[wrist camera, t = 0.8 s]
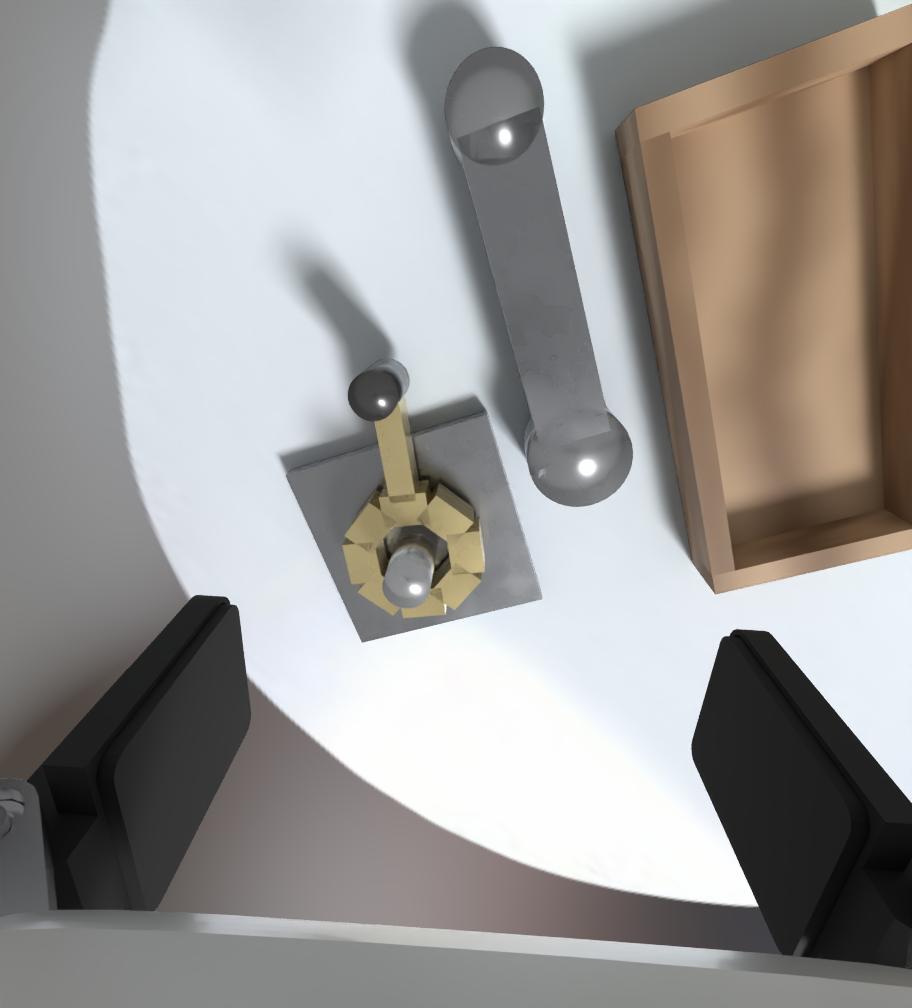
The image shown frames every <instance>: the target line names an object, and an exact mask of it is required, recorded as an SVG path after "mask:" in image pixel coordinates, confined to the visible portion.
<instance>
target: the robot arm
mask: <svg viewBox="0 0 912 1008" xmlns="http://www.w3.org/2000/svg"><path fill="white" fill-rule="evenodd" d="M250 719H251V709H250V701H249V692H248V685H247V676H246V667H245V659H244V651H243V642H242V634H241V626H240V617H239V611H238V608H237V606H236V605H230V601H229V600H228V598H226V597H220V596H204V595H196V596H194V597H192V598H191V599H190V600H189V602H188V603H187V604H186V605H185V606H184V607H183V608H182V610H181V611H180V612H179V613H178V614H177V615H176V616H175V617H174V618H173V620H172V621H171V622H170V623H169V624H168V625H167V626H166V627H165V628H164V630H163V631H162V632H161V633H160V634H159V635H158V636H157V637H156V638H155V640H154V641H153V642H152V643H151V644H150V645H149V646H148V647H147V649H146V650H145V651H144V652H143V653H142V654H141V655H140V656H139V657H138V659H137V660H136V661H135V662H134V663H133V664H132V665H131V666H130V667H129V668H128V669H127V670H126V671H125V672H124V673H123V675H122V676H121V677H120V678H119V679H118V680H117V681H116V682H115V683H114V685H113V686H112V687H111V688H110V689H109V690H108V691H107V692H106V693H105V695H104V696H103V697H102V698H101V699H100V700H99V701H98V702H97V703H96V704H95V706H94V707H93V708H92V709H91V710H90V711H89V712H88V713H87V715H86V716H85V717H84V718H83V719H82V720H81V721H80V722H79V723H78V725H77V726H76V727H75V728H74V729H73V730H72V731H71V732H70V733H69V735H68V736H67V737H66V738H65V739H64V740H63V741H62V742H61V744H60V745H59V746H58V747H57V748H56V749H55V750H54V751H53V752H52V753H51V755H50V756H49V757H48V758H47V759H46V760H45V761H44V762H43V764H42V765H41V766H40V767H39V768H38V769H37V770H36V771H35V772H34V774H33V775H32V776H31V777H30V778H29V779H28V780H27V781H25V780H20V779H13V778H6V779H0V1008H912V803H911V802H910V801H909V799H908V798H907V797H906V796H905V795H904V793H903V792H902V791H901V790H900V789H899V787H898V786H897V785H896V784H895V783H894V781H893V780H892V779H891V778H890V777H889V775H888V774H887V773H886V772H885V771H884V769H883V768H882V767H881V766H880V764H879V763H878V762H877V761H876V760H875V758H874V757H873V756H872V755H871V754H870V752H869V751H868V750H867V749H866V748H865V746H864V745H863V744H862V743H861V742H860V740H859V739H858V738H857V737H856V736H855V734H854V733H853V732H852V731H851V730H850V728H849V727H848V726H847V725H846V724H845V722H844V721H843V720H842V719H841V718H840V716H839V715H838V714H837V713H836V712H835V710H834V709H833V708H832V707H831V705H830V704H829V703H828V702H827V701H826V699H825V698H824V697H823V696H822V695H821V693H820V692H819V691H818V690H817V689H816V687H815V686H814V685H813V684H812V683H811V681H810V680H809V679H808V678H807V677H806V675H805V674H804V673H803V672H802V671H801V669H800V668H799V667H798V666H797V665H796V663H795V662H794V661H793V660H792V659H791V657H790V656H789V655H788V654H787V652H786V651H785V650H784V649H783V648H782V646H781V645H780V644H779V643H778V642H777V640H776V639H775V638H774V637H773V636H772V635H771V634H770V633H769V632H766V631H756V630H740V629H736V630H733V631H732V633H731V634H730V636H725V637H723V638H722V640H721V642H720V645H719V649H718V652H717V656H716V659H715V663H714V666H713V670H712V673H711V677H710V680H709V684H708V687H707V691H706V694H705V698H704V701H703V705H702V708H701V712H700V715H699V719H698V722H697V726H696V729H695V733H694V736H693V740H692V748H691V749H692V757H693V761H694V763H695V766H696V768H697V770H698V772H699V774H700V777H701V779H702V781H703V783H704V786H705V788H706V790H707V792H708V794H709V797H710V799H711V801H712V803H713V806H714V808H715V810H716V812H717V814H718V817H719V819H720V821H721V823H722V826H723V828H724V830H725V832H726V835H727V837H728V839H729V841H730V843H731V846H732V848H733V850H734V852H735V855H736V857H737V859H738V861H739V863H740V866H741V868H742V870H743V872H744V875H745V877H746V879H747V881H748V883H749V886H750V888H751V890H752V892H753V895H754V897H755V899H756V901H757V903H758V906H759V908H760V910H761V912H762V915H763V917H764V919H765V921H766V923H767V926H768V928H769V930H770V932H771V934H772V937H773V939H774V941H775V943H776V945H777V947H778V949H779V951H780V952H781V953H782V955H776V954H765V953H752V952H739V951H727V950H714V949H701V948H689V947H674V946H663V945H650V944H637V943H624V942H611V941H597V940H585V939H571V938H557V937H543V936H529V935H515V934H502V933H488V932H473V931H459V930H445V929H431V928H417V927H402V926H388V925H371V924H356V923H343V922H327V921H312V920H296V919H281V918H265V917H251V916H235V915H219V914H198V913H176V912H154V910H155V909H156V908H157V907H158V905H159V904H160V902H161V900H162V899H163V896H164V894H165V893H166V891H167V888H168V887H169V885H170V883H171V880H172V879H173V877H174V875H175V873H176V871H177V869H178V867H179V865H180V863H181V861H182V859H183V857H184V855H185V853H186V851H187V849H188V847H189V845H190V843H191V841H192V839H193V838H194V836H195V834H196V831H197V830H198V827H199V826H200V824H201V822H202V820H203V818H204V816H205V814H206V812H207V810H208V808H209V806H210V804H211V802H212V800H213V798H214V796H215V794H216V792H217V790H218V788H219V786H220V784H221V782H222V780H223V779H224V777H225V774H226V773H227V771H228V769H229V767H230V765H231V763H232V761H233V759H234V757H235V755H236V753H237V751H238V749H239V747H240V745H241V743H242V741H243V739H244V737H245V735H246V733H247V731H248V728H249V724H250Z"/></svg>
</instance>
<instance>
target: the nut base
mask: <svg viewBox="0 0 912 1008" xmlns="http://www.w3.org/2000/svg"><path fill="white" fill-rule="evenodd" d="M411 436H412V442H413V448H414V454H415V460H416V465H417V471H418V477H419V481H421V480H429V484H430V490H431V492H432V491H433V489H434V488H435V487H436V486H437V484H438V483H441V484H442V485H443V486H445V487H446V488H448V489H449V490H450V491H452V492H453V493H454V494H456V495H457V496H459V497H460V498H461V499H463V500H464V501H465V502H467V503H468V504H470V505H471V506H472V507H474V517H479V516H480V524H481V531H482V539H483V547H484V554H485V572H482V581H481V582H480V583H479V584H478V585H477V587H476V588H475V589H474V590H473V591H472V592H471V593H470V594H469V595H468V596H467V597H466V599H465V600H464V601H463V602H462V603H461V604H460V605H459V606H458V607H457V608H456V609H455V610H453V609H452V608H450V607H449V606H447V607H446V615H436V616H424V617H413V618H403V615H402V610H401V608H415V607H417V606H420V605H421V604H423V603H424V602H425V601H426V599H427V598H428V596H429V593H430V587H431V582H432V576H433V571H437V570H438V569H439V568H440V567H441V565H442V564H443V563H444V562H445V561H446V560H447V558H448V557H449V550H448V543H447V541H445V540H444V539H443V538H441V537H440V536H438V535H437V534H436V533H434V532H433V531H431V530H430V529H428V528H427V527H426V526H424V525H423V524H422V525H412V526H403V527H393V528H392V529H391V530H390V531H389V533H388V534H387V535H386V536H385V538H384V539H383V541H384V546H385V551H386V556H387V559H389V560H390V562H389V565H388V568H387V571H386V574H385V577H384V580H383V583H382V589H383V593H384V595H385V597H386V598H387V600H388V601H389V602H391V603H392V604H393V605H395V606H398V607H400V608H399V610H398V611H397V612H396V613H395V614H394V615H391V614H390V613H388V612H387V611H385V610H384V609H382V608H380V607H379V606H377V605H376V604H374V603H373V602H371V601H370V600H368V599H367V598H365V597H364V596H362V595H361V594H359V593H358V590H359V587H360V585H361V584H351V580H350V576H349V572H348V568H347V563H346V559H345V555H344V551H343V547H342V545H343V543H344V541H345V539H346V537H345V536H344V535H345V533H346V532H347V530H348V528H349V526H350V524H351V522H352V521H353V519H354V518H355V517H356V515H357V514H358V513H359V511H360V510H361V509H362V508H363V506H364V505H365V504H366V502H367V501H368V500H369V498H370V497H371V496H372V494H373V493H374V492H375V490H378V491H379V492H382V490H383V488H384V486H385V484H386V480H385V474H384V469H383V464H382V459H381V454H380V449H379V444H375V445H372V446H369V447H365V448H362V449H359V450H356V451H352V452H349V453H346V454H342V455H339V456H336V457H332V458H329V459H326V460H323V461H319V462H316V463H313V464H309V465H306V466H303V467H299V468H296V469H293V470H291V471H290V472H289V473H288V474H287V475H286V477H287V480H288V482H289V484H290V486H291V488H292V491H293V493H294V495H295V497H296V499H297V501H298V504H299V506H300V508H301V510H302V512H303V515H304V517H305V519H306V521H307V523H308V526H309V528H310V530H311V532H312V534H313V536H314V539H315V541H316V543H317V545H318V547H319V550H320V552H321V554H322V556H323V558H324V561H325V563H326V565H327V567H328V569H329V571H330V574H331V576H332V578H333V580H334V582H335V585H336V587H337V589H338V591H339V593H340V595H341V598H342V600H343V602H344V604H345V606H346V609H347V611H348V613H349V615H350V617H351V620H352V622H353V624H354V626H355V628H356V630H357V633H358V635H359V637H360V639H361V641H362V642H366V641H371V640H375V639H379V638H383V637H387V636H391V635H395V634H400V633H404V632H408V631H412V630H416V629H420V628H425V627H429V626H433V625H437V624H441V623H445V622H449V621H454V620H458V619H462V618H466V617H470V616H474V615H478V614H483V613H487V612H491V611H495V610H499V609H503V608H507V607H512V606H516V605H520V604H524V603H528V602H532V601H536V600H541V599H542V594H541V589H540V586H539V583H538V579H537V576H536V573H535V569H534V566H533V563H532V559H531V556H530V553H529V549H528V546H527V543H526V539H525V536H524V533H523V530H522V526H521V523H520V520H519V516H518V513H517V510H516V506H515V503H514V500H513V496H512V493H511V490H510V486H509V483H508V480H507V476H506V473H505V470H504V466H503V463H502V460H501V456H500V453H499V450H498V446H497V443H496V440H495V436H494V433H493V430H492V426H491V423H490V420H489V417H488V413H487V411H484V412H481V413H478V414H474V415H471V416H468V417H464V418H461V419H458V420H455V421H451V422H448V423H445V424H441V425H438V426H435V427H431V428H428V429H425V430H422V431H418V432H415V433H412V434H411Z"/></svg>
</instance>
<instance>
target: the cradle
mask: <svg viewBox="0 0 912 1008" xmlns="http://www.w3.org/2000/svg"><path fill="white" fill-rule="evenodd" d="M615 133H616V138H617V144H618V150H619V155H620V161H621V166H622V172H623V177H624V183H625V189H626V194H627V200H628V205H629V211H630V216H631V222H632V228H633V233H634V239H635V244H636V250H637V255H638V261H639V267H640V272H641V278H642V283H643V289H644V294H645V300H646V305H647V311H648V317H649V322H650V328H651V333H652V339H653V344H654V350H655V356H656V361H657V367H658V372H659V378H660V383H661V389H662V395H663V400H664V406H665V411H666V417H667V422H668V428H669V434H670V439H671V445H672V450H673V456H674V461H675V467H676V472H677V478H678V484H679V489H680V495H681V500H682V506H683V511H684V517H685V523H686V528H687V534H688V539H689V545H690V550H691V556H692V562H693V565H694V566H695V567H696V569H697V570H698V571H699V573H700V574H701V575H702V577H703V578H704V580H705V581H706V582H707V584H708V585H709V586H710V588H711V589H712V591H713V592H714V593H715V594H719V593H724V592H728V591H732V590H737V589H741V588H745V587H750V586H754V585H758V584H763V583H767V582H771V581H776V580H780V579H784V578H789V577H793V576H797V575H802V574H806V573H810V572H815V571H819V570H823V569H828V568H832V567H836V566H841V565H845V564H849V563H854V562H858V561H862V560H867V559H871V558H875V557H880V556H884V555H888V554H893V553H897V552H901V551H906V550H910V549H912V4H910V5H908V6H905V7H902V8H900V9H897V10H894V11H892V12H889V13H886V14H884V15H881V16H879V17H876V18H873V19H871V20H868V21H865V22H863V23H860V24H857V25H855V26H852V27H849V28H847V29H844V30H842V31H839V32H836V33H834V34H831V35H828V36H826V37H823V38H820V39H818V40H815V41H812V42H810V43H807V44H805V45H802V46H799V47H797V48H794V49H791V50H789V51H786V52H783V53H781V54H778V55H775V56H773V57H770V58H768V59H765V60H762V61H760V62H757V63H754V64H752V65H749V66H746V67H744V68H741V69H738V70H736V71H733V72H731V73H728V74H725V75H723V76H720V77H717V78H715V79H712V80H709V81H707V82H704V83H701V84H699V85H696V86H694V87H691V88H688V89H686V90H683V91H680V92H678V93H675V94H672V95H670V96H667V97H664V98H662V99H659V100H657V101H654V102H651V103H649V104H646V105H643V106H641V107H638V108H635V109H634V110H633V111H632V112H631V113H630V115H629V116H628V117H627V118H626V119H625V120H624V121H623V123H622V124H621V125H620V126H619V127H618V128H617V129H616V131H615Z"/></svg>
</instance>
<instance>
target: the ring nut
mask: <svg viewBox="0 0 912 1008" xmlns="http://www.w3.org/2000/svg"><path fill="white" fill-rule="evenodd" d="M408 387H409V375H408V372H407V370H406V368H405V367H404V366H403V365H402V364H401V363H400V362H398V361H396V360H394V359H381V360H379V361H377V362H375V363H374V364H373V365H371V366H370V367H369V368H368V369H366V370H365V371H364V372H362V373H361V374H360V375H358V376H357V377H356V378H355V379H354V380H353V381H352V382H351V384H350V386H349V390H348V400H349V404H350V406H351V408H352V409H353V411H354V412H355V413H356V414H357V415H358V416H360V417H361V418H363V419H365V420H369V421H374V423H375V428H376V434H377V439H378V444H379V449H380V454H381V459H382V464H383V469H384V474H385V480H386V484H385V486H384V488H383V490H382V492H379V491H378V490H375V492H374V493H373V494H372V496H371V497H370V498H369V500H368V501H367V502H366V504H365V505H364V506H363V508H362V509H361V510H360V511H359V513H358V514H357V515H356V517H355V518H354V519H353V521H352V522H351V524H350V526H349V528H348V530H347V532H346V533H345V535H344V536H345V537H346V539H345V541H344V543H343V545H342V547H343V551H344V555H345V559H346V563H347V568H348V572H349V576H350V580H351V584H361V585H360V587H359V590H358V593H359V594H361V595H362V596H364V597H365V598H367V599H368V600H370V601H371V602H373V603H374V604H376V605H377V606H379V607H380V608H382V609H384V610H385V611H387V612H388V613H390V614H391V615H394V614H395V613H396V612H397V611H398V610H399V608H400V607H398V606H395V605H393V604H392V603H391V602H389V601H388V600H387V598H386V597H385V595H384V593H383V589H382V583H383V580H384V577H385V574H386V571H387V568H388V565H389V562H390V560H389V559H387V556H386V551H385V546H384V541H383V539H384V538H385V536H386V535H387V534H388V533H389V531H390V530H391V529H392V528H393V527H403V526H412V525H422V524H423V525H424V526H426V527H427V528H428V529H430V530H431V531H433V532H434V533H436V534H437V535H438V536H440V537H441V538H443V539H444V540H445V541H447V543H448V550H449V557H448V558H447V560H446V561H445V562H444V563H443V564H442V565H441V567H440V568H439V569H438V570H437V571H433V576H432V582H431V587H430V593H429V596H428V598H427V599H426V601H425V602H424V603H423V604H421V605H420V606H417V607H415V608H401V610H402V615H403V618H413V617H424V616H436V615H446V607H447V606H449V607H450V608H452V609H453V610H455V609H456V608H457V607H458V606H459V605H460V604H461V603H462V602H463V601H464V600H465V599H466V597H467V596H468V595H469V594H470V593H471V592H472V591H473V590H474V589H475V588H476V587H477V585H478V584H479V583H480V582H481V581H482V572H485V554H484V547H483V539H482V531H481V524H480V516H479V517H474V507H472V506H471V505H470V504H468V503H467V502H465V501H464V500H463V499H461V498H460V497H459V496H457V495H456V494H454V493H453V492H452V491H450V490H449V489H448V488H446V487H445V486H443V485H442V484H441V483H438V484H437V486H436V487H435V488H434V489H433V491H432V492H431V490H430V484H429V480H421V481H419V477H418V471H417V465H416V460H415V454H414V448H413V442H412V436H411V430H410V424H409V419H408V413H407V407H406V401H405V393H406V392H407V390H408Z"/></svg>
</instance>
